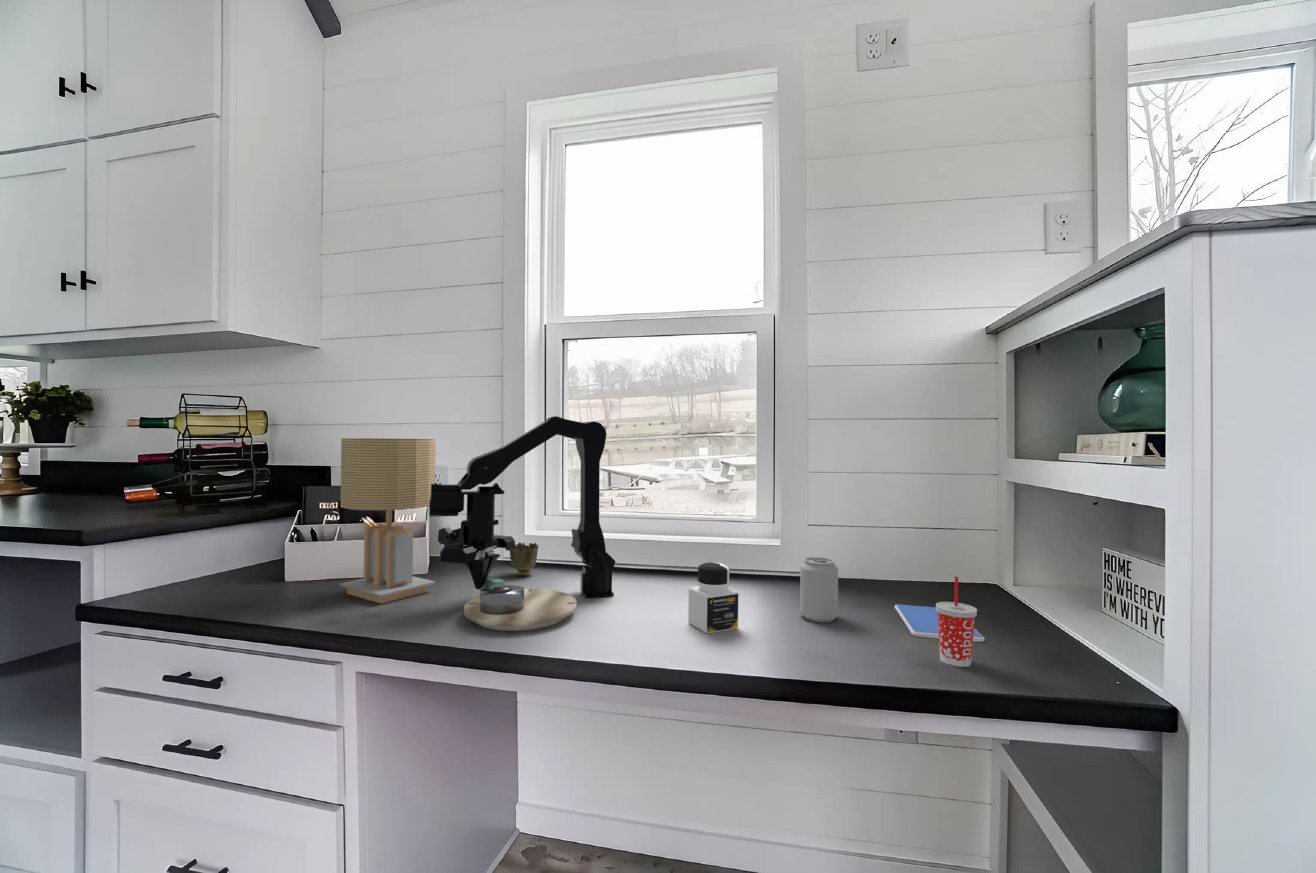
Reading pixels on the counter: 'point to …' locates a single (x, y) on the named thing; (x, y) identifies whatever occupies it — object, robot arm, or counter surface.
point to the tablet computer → (925, 621)
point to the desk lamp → (387, 509)
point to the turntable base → (520, 628)
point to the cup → (524, 558)
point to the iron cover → (502, 599)
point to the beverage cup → (956, 631)
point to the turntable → (525, 607)
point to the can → (819, 589)
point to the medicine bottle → (713, 600)
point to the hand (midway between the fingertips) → (478, 588)
